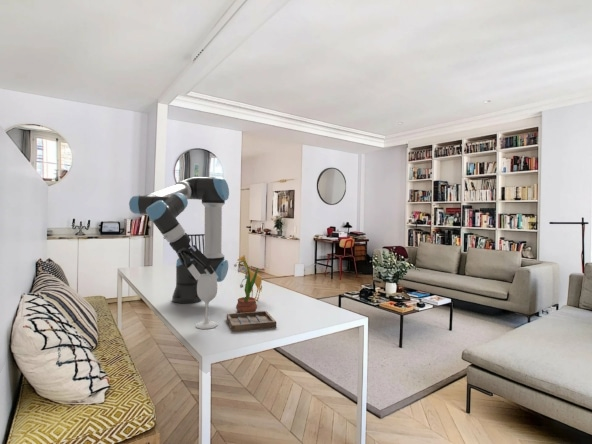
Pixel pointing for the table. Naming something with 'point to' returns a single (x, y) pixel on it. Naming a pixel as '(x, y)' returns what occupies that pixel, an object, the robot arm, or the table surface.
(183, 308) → the table surface
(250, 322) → the wooden tray
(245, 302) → the potted flower
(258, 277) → the yellow flower sprig
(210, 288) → the wineglass
